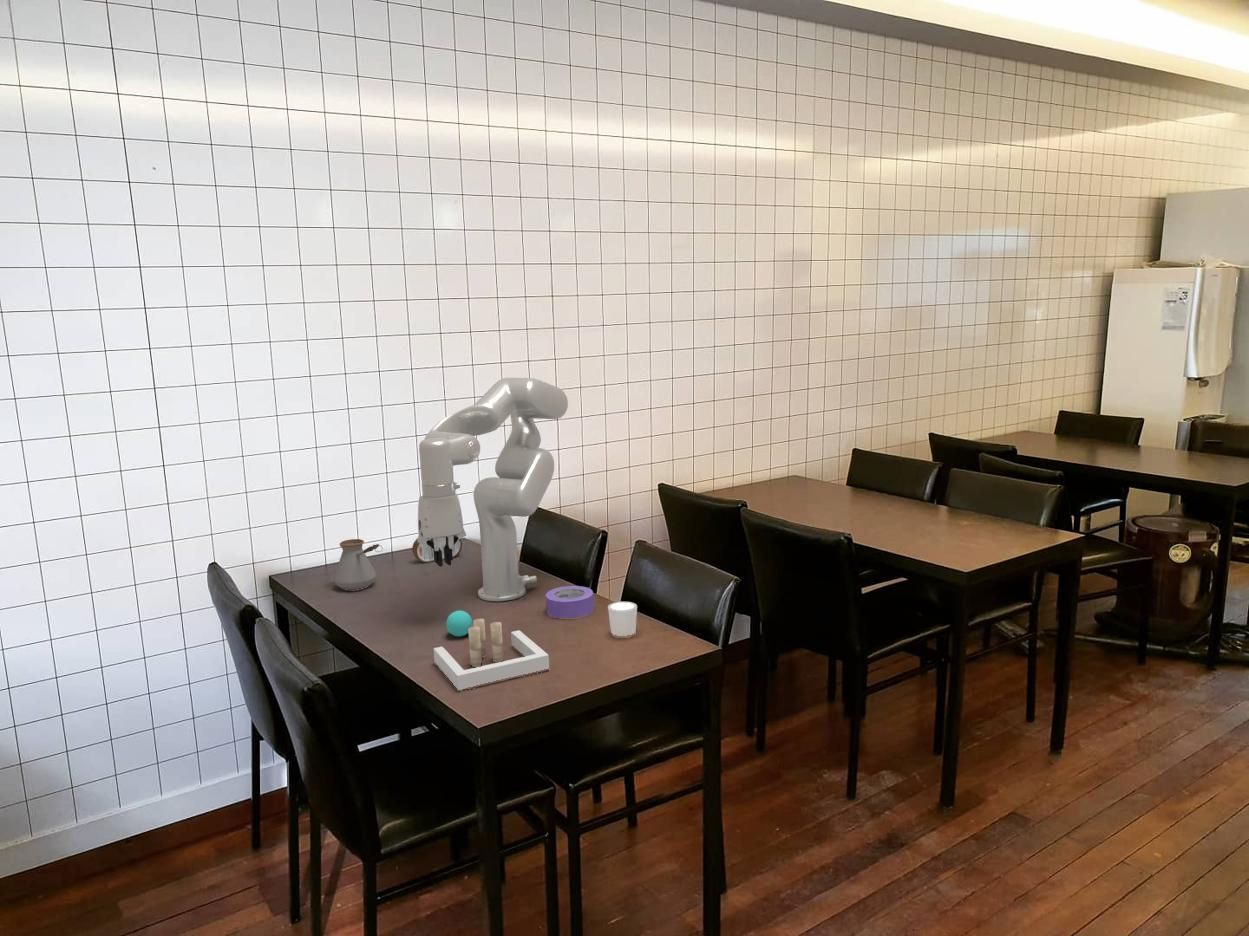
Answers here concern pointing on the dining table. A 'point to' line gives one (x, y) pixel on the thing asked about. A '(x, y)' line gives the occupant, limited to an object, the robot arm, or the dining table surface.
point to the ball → (459, 623)
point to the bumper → (497, 671)
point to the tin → (426, 552)
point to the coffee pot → (354, 566)
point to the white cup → (622, 618)
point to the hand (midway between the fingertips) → (443, 564)
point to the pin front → (481, 635)
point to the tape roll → (569, 602)
